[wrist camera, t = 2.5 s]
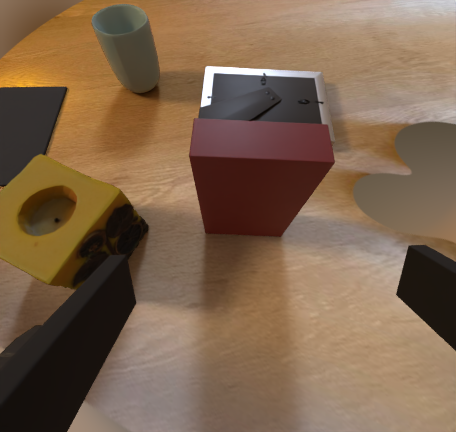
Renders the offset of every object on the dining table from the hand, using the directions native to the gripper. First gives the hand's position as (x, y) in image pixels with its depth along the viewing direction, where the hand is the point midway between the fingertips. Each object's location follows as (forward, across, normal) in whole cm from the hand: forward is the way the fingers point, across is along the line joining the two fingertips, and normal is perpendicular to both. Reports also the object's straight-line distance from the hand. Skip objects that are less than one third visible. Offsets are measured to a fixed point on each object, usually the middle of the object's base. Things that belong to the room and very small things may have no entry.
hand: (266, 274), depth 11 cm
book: (+20, 0, -5) cm, 20 cm away
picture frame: (+34, +5, +10) cm, 36 cm away
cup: (+38, -17, +15) cm, 44 cm away
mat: (+30, -35, +8) cm, 47 cm away
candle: (+17, -19, -6) cm, 26 cm away
